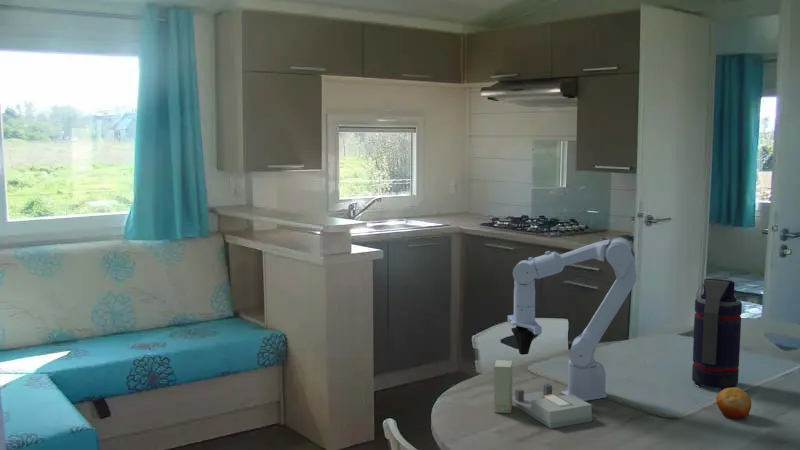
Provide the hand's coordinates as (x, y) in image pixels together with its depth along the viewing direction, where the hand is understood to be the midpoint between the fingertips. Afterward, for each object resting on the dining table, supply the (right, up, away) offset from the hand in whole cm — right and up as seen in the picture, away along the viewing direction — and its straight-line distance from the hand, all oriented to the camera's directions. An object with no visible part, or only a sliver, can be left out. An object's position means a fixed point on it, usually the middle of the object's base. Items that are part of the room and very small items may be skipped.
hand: (523, 353), depth 214 cm
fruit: (+49, -13, -19) cm, 54 cm away
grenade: (+53, -10, +3) cm, 54 cm away
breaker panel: (+4, -12, -13) cm, 18 cm away
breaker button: (+5, -11, -17) cm, 21 cm away
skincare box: (-7, -12, -12) cm, 19 cm away
